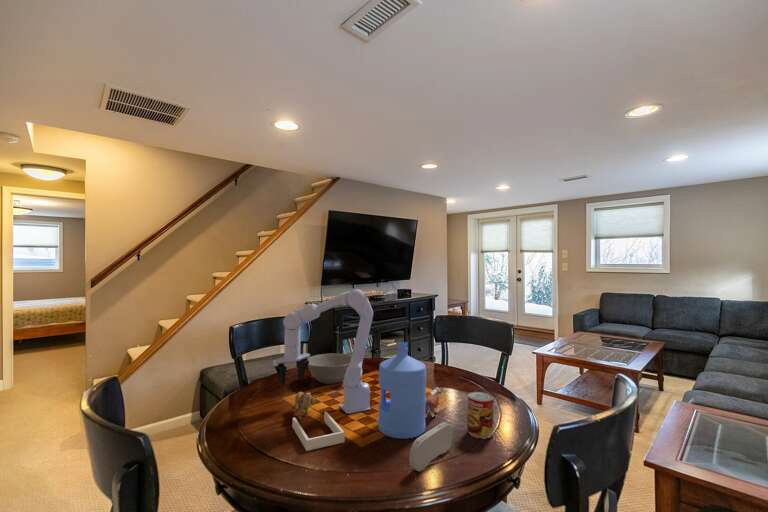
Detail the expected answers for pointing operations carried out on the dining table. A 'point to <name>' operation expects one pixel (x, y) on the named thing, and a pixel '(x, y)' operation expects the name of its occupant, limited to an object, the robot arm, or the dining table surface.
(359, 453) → the dining table surface
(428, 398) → the bull figurine
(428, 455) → the grey rounded slab
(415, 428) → the water jug
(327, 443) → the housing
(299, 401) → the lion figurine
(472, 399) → the canned food
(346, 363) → the ceramic bowl
